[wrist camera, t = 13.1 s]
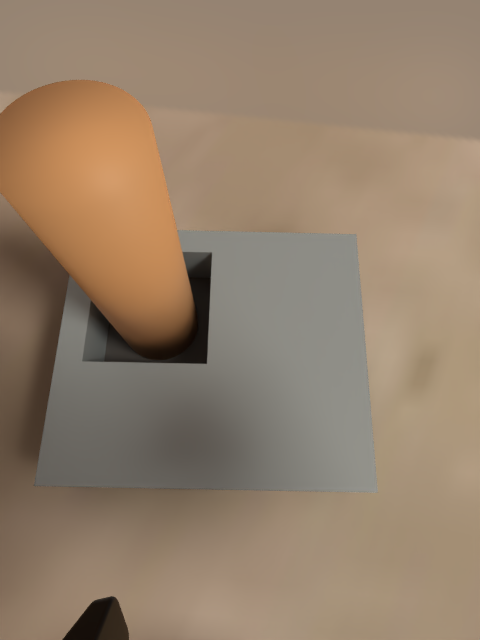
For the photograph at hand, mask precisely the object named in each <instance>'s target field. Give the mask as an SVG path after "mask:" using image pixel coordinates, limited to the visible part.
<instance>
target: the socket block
mask: <svg viewBox="0 0 480 640" xmlns="http://www.w3.org/2000/svg"><path fill="white" fill-rule="evenodd" d="M177 232H178V236H179V240H180V244H181V249H182V253H183V257H184V261H185V265H186V270H187V274H188V278H189V282H190V286H191V291H192V295H193V299H194V303H195V307H196V312H197V316H198V330H197V334H196V336H195V339H194V340H193V342H192V344H191V345H190V346H189V347H188V348H187V349H186V350H185V351H184V352H182V353H181V354H179V355H178V356H175V357H173V358H170V359H166V360H152V359H147V358H145V357H142V356H141V355H139V354H137V353H136V352H135V351H134V350H133V349H132V348H131V347H130V346H129V345H128V343H127V342H126V341H125V340H124V339H123V338H122V336H121V335H120V334H119V333H118V332H117V330H116V329H115V328H114V327H113V326H112V324H111V323H110V322H109V321H108V320H107V319H106V317H105V316H104V315H103V314H102V313H101V311H100V310H99V309H98V308H97V307H96V305H95V304H94V303H93V302H92V301H91V299H90V298H89V297H88V296H87V295H86V294H85V292H84V291H83V290H82V289H81V288H80V286H79V285H78V284H77V283H76V282H75V280H74V279H73V278H72V277H71V276H70V275H69V281H68V287H67V293H66V299H65V305H64V311H63V317H62V323H61V329H60V335H59V341H58V346H57V352H56V358H55V364H54V370H53V376H52V382H51V388H50V394H49V400H48V406H47V412H46V418H45V424H44V430H43V436H42V442H41V448H40V453H39V459H38V465H37V471H36V477H35V483H34V486H59V487H112V488H164V489H216V490H268V491H321V492H373V493H378V490H377V478H376V466H375V454H374V442H373V430H372V418H371V406H370V394H369V382H368V370H367V358H366V346H365V334H364V322H363V310H362V298H361V286H360V274H359V262H358V250H357V238H356V234H320V233H275V232H231V231H187V230H177Z"/></svg>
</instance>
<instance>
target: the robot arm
mask: <svg viewBox="0 0 480 640" xmlns="http://www.w3.org/2000/svg"><path fill="white" fill-rule="evenodd" d="M62 640H129V633H128V628H127V625H126V622H125V619H124V616H123V614H122V611H121V608H120V605H119V602H118V600H117V599H116V597H112V596H111V597H107V598H102V599H98V600H95V601H93V602H92V603H91V604H90V605H89V607H88V608H87V609H86V610H85V612H84V613H83V614H82V615H81V617H80V618H79V619H78V620H77V622H76V623H75V624H74V626H73V627H72V628H71V629H70V631H69V632H68V633H67V634H66V636H65V637H64V638H63V639H62Z"/></svg>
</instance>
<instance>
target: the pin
mask: <svg viewBox="0 0 480 640" xmlns="http://www.w3.org/2000/svg"><path fill="white" fill-rule="evenodd" d="M0 192H1V194H2V195H3V196H4V197H5V198H6V200H7V201H8V202H9V203H10V204H11V206H12V207H13V208H14V209H15V210H16V211H17V213H18V214H19V215H20V216H21V217H22V219H23V220H24V221H25V222H26V223H27V225H28V226H29V227H30V228H31V229H32V231H33V232H34V233H35V234H36V235H37V236H38V238H39V239H40V240H41V241H42V242H43V244H44V245H45V246H46V247H47V248H48V250H49V251H50V252H51V253H52V254H53V255H54V257H55V258H56V259H57V260H58V261H59V263H60V264H61V265H62V266H63V267H64V269H65V270H66V271H67V272H68V273H69V275H70V276H71V277H72V278H73V279H74V280H75V282H76V283H77V284H78V285H79V286H80V288H81V289H82V290H83V291H84V292H85V294H86V295H87V296H88V297H89V298H90V299H91V301H92V302H93V303H94V304H95V305H96V307H97V308H98V309H99V310H100V311H101V313H102V314H103V315H104V316H105V317H106V319H107V320H108V321H109V322H110V323H111V324H112V326H113V327H114V328H115V329H116V330H117V332H118V333H119V334H120V335H121V336H122V338H123V339H124V340H125V341H126V342H127V343H128V345H129V346H130V347H131V348H132V349H133V350H134V351H135V352H136V353H137V354H139V355H141V356H142V357H145V358H147V359H152V360H166V359H170V358H173V357H175V356H178V355H179V354H181V353H182V352H184V351H185V350H186V349H187V348H188V347H189V346H190V345H191V344H192V342H193V340H194V339H195V336H196V334H197V330H198V316H197V312H196V307H195V303H194V299H193V295H192V291H191V286H190V282H189V278H188V274H187V270H186V265H185V261H184V257H183V253H182V249H181V244H180V240H179V236H178V232H177V228H176V223H175V219H174V215H173V211H172V207H171V203H170V198H169V194H168V190H167V186H166V182H165V177H164V173H163V169H162V165H161V161H160V156H159V152H158V148H157V144H156V140H155V135H154V131H153V127H152V124H151V120H150V118H149V116H148V114H147V112H146V110H145V109H144V108H143V106H142V105H141V104H140V103H139V102H138V101H137V100H136V99H135V98H134V97H133V96H131V95H130V94H129V93H127V92H125V91H124V90H122V89H120V88H118V87H115V86H113V85H110V84H106V83H103V82H97V81H90V80H70V81H61V82H56V83H52V84H48V85H45V86H42V87H39V88H37V89H34V90H33V91H30V92H28V93H26V94H24V95H23V96H21V97H20V98H18V99H16V100H15V101H14V102H13V103H11V104H10V105H9V106H8V107H7V108H6V109H5V110H4V111H3V112H2V113H1V114H0Z"/></svg>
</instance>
